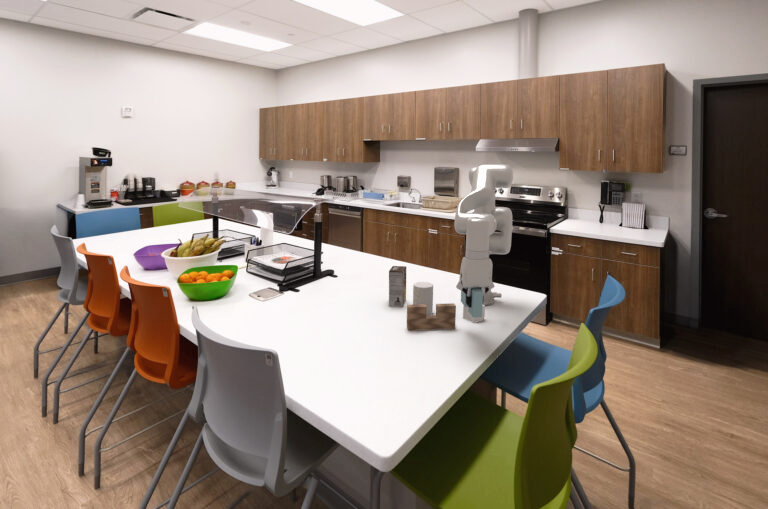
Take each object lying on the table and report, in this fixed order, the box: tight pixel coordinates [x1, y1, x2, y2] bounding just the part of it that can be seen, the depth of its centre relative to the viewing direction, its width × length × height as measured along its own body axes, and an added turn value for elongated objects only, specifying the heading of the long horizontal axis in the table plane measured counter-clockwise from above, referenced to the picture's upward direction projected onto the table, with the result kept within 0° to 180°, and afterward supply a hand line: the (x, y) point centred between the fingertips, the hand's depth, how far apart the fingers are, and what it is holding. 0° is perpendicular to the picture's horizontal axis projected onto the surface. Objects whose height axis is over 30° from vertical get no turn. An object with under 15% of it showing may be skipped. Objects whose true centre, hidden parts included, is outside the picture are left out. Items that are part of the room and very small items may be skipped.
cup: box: [412, 281, 434, 316], centre depth 183 cm, size 8×8×12 cm
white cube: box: [462, 304, 486, 324], centre depth 176 cm, size 6×6×6 cm
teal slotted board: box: [460, 285, 483, 317], centre depth 156 cm, size 3×16×9 cm, turn 5°
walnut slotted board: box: [406, 302, 457, 331], centre depth 167 cm, size 18×3×9 cm, turn 95°
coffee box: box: [388, 265, 407, 308], centre depth 193 cm, size 9×6×16 cm
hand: (474, 305), depth 153 cm, fingers closed on teal slotted board, 3 cm apart
